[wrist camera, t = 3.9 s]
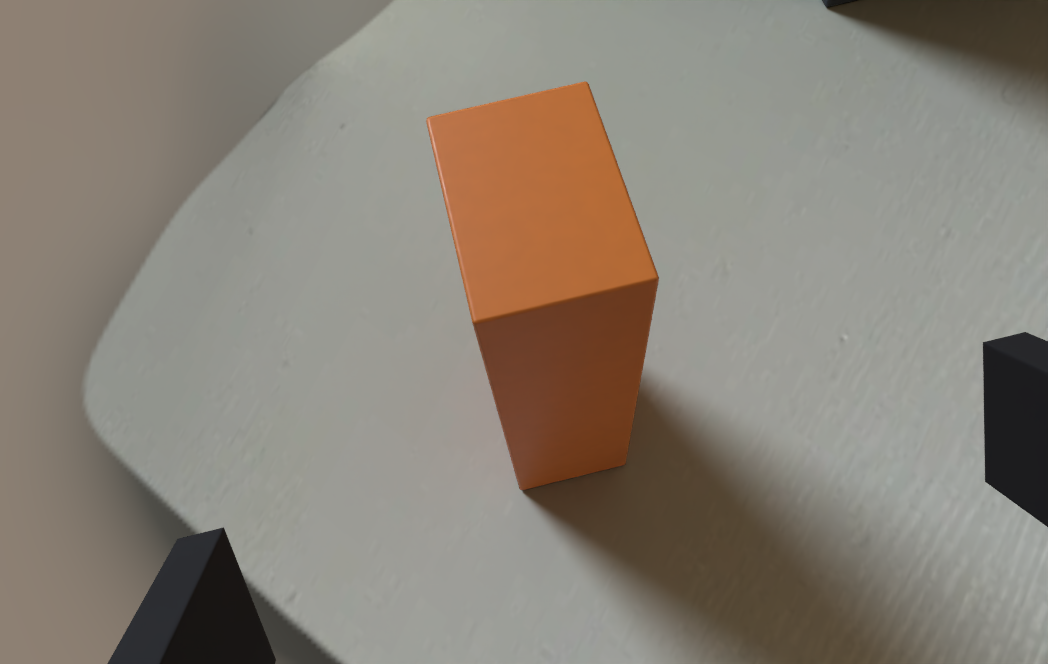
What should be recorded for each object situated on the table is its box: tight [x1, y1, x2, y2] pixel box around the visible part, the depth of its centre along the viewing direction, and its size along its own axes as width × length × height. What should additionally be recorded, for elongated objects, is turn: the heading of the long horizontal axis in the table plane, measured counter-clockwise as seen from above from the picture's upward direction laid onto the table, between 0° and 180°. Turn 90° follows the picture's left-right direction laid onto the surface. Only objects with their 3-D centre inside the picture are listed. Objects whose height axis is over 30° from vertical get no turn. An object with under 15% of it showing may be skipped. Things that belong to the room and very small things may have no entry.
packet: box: [426, 82, 659, 490], centre depth 20 cm, size 4×5×12 cm
